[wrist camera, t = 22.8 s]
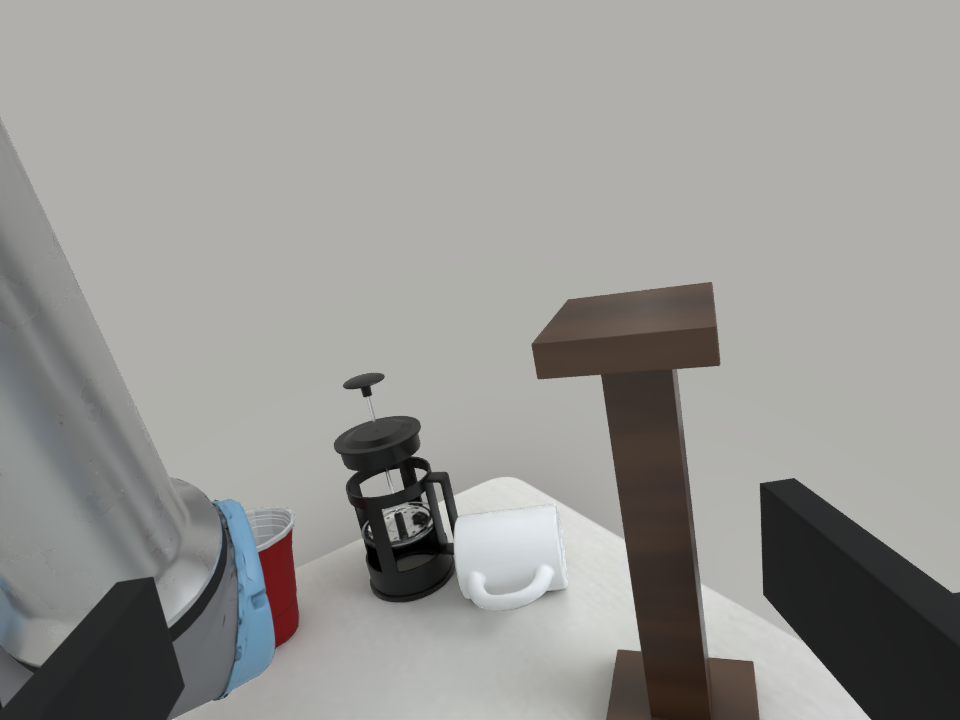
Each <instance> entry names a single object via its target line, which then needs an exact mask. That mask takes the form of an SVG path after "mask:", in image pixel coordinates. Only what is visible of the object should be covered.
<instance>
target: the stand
mask: <svg viewBox="0 0 960 720" xmlns="http://www.w3.org/2000/svg"><path fill="white" fill-rule="evenodd" d="M532 350H533V356H534V362H535V367H536V373H537V378H538V379H549V378H562V377H576V376H589V375H601V377H602V384H603V391H604V398H605V405H606V412H607V419H608V425H609V433H610V439H611V446H612V452H613V460H614V466H615V474H616V480H617V487H618V494H619V500H620V507H621V515H622V522H623V529H624V536H625V542H626V549H627V556H628V563H629V570H630V577H631V584H632V590H633V597H634V604H635V611H636V618H637V625H638V632H639V639H640V645H641V652H640V651H629V650H617V656H616V663H615V669H614V675H613V682H612V688H611V694H610V701H609V707H608V713H607V720H759V710H758V701H757V692H756V683H755V673H754V664H753V662H752V661H742V660H731V659H720V658H708V649H707V640H706V631H705V621H704V612H703V603H702V594H701V585H700V576H699V567H698V558H697V548H696V540H695V530H694V521H693V513H692V504H691V494H690V484H689V475H688V467H687V457H686V448H685V439H684V430H683V421H682V411H681V402H680V393H679V384H678V375H677V369H682V368H696V367H709V366H719V365H720V354H719V343H718V333H717V323H716V313H715V303H714V294H713V285H712V282H708V283H700V284H692V285H683V286H675V287H667V288H659V289H650V290H642V291H635V292H626V293H618V294H610V295H603V296H602V295H601V296H593V297H585V298H578V299H569V300H567V302H566V303H565V304H564V305H563V307H562V308H561V309H560V310H559V311H558V312H557V314H556V315H555V316H554V317H553V319H552V320H551V321H550V322H549V323H548V325H547V326H546V327H545V328H544V330H543V331H542V332H541V333H540V334H539V336H538V337H537V338H536V339H535V341H534V342H533V343H532Z"/></svg>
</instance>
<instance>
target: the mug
mask: <svg viewBox="0 0 960 720" xmlns="http://www.w3.org/2000/svg"><path fill="white" fill-rule="evenodd" d="M454 559H455V567H456V574H457V579H458V583H459V586H460V589H461V592H462V594H463V596H464V597H465V598H467V599H471V600H472V601H473V602H474V603H475V604H476V605H477V606H479V607H480V608H483V609H486V610H490V611H506V610H512V609H516V608H519V607H522V606H525V605H527V604H530V603H532V602H533V601H535V600H537V599H538V598H539V597H541V596H542V595H543V594H544V593H545V592H546V591H552V590H562V589H566V588H567V586H568V578H567V567H566V559H565V551H564V544H563V537H562V531H561V525H560V519H559V515H558V510H557V507H556V505H554V504H552V505H543V506H535V507H527V508H519V509H511V510H502V511H494V512H486V513H478V514H470V515H462V516H459V517H458V518H457V520H456V523H455V527H454Z"/></svg>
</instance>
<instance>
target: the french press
mask: <svg viewBox="0 0 960 720" xmlns="http://www.w3.org/2000/svg"><path fill="white" fill-rule="evenodd" d="M384 377H385V376H384V375H383V374H381V373H367V374H363V375H359V376H356V377H354V378H351V379H349V380H348V381H346V382H345V383H344V384H343V387H344V388H345V389H358V388H361V391H362V394H363V397H366V399H367V402H368V406H369V410H370V414H371V418H372V421H369V422H366V423H363V424H360V425H358V426H356V427H353V428H351V429H349V430H348V431H346V432H344V433H343V434H342V435H341V436H339V437H338V438H337V440H336V441H335V442H334V449H335V450H336V452H337V453H339V454H341V457H342V460H343V462H344V465H345V466H346V467H347V468H348V469H351V470H355V471H358V472H357V473H355V474H354V475H353V476H352V477H351V478H350V479H349V481H348V482H347V484H346V491H347V495H348V499H349V501H350V503H351V504H352V505H353V506H354V507H355V511H356V514H357V518H358V521H359V525H360V528H361V533H362V538H363V539H364V543H365V547H366V550H367V555H366V563H367V567H368V570H369V574H370V577H371V578H370V585H371V588H372V591H373V592H374V593H375V595H376V596H378V597H379V598H381V599H383V600H387V601H392V602H405V601H411V600H415V599H419V598H422V597H424V596H427V595H429V594H431V593H433V592H434V591H436V590H438V589H439V588H440V587H442V586H443V585H444V584H445V583H446V582H447V581H448V580H449V579H450V577H451V576H452V574H453V572H454V569H455V561H454V557H453V555H454V543H448V540H447V536H446V533H445V532H444V528H443V524H442V520H441V516H440V511H439V507H438V503H437V499H436V494H435V490H434V486H433V483H436V482H439V483H440V484H441V487H442V491H443V496H444V500H445V504H446V509H447V513H448V517H449V522H450V526H451V530H452V535H453V539H454V527H455V523H456V520H457V518H458V515H457V510H456V506H455V501H454V497H453V493H452V488H451V484H450V479H449V475H448V473H447V472H431V468H430V464H429V463H428V461H427V460H425V459H423V458H419V457H412V455H413V454H414V453H415V452H416V451H417V450H418V449H419V447H420V440H419V435H418V432H419V431H420V429H421V425H420V422H419V421H418V420H417V419H415V418H413V417H408V416H393V417H386V418H380V419H375V416H374V411H373V408H372V404H371V400H370V396H371V395H372V392H371V387H370V386H371V385H373V384H376V383H378V382H380V381H382V380H383V379H384ZM414 468H419V469H423V470H425V471H427V473H426V475H425V476H424V477H423V478H422V479H421V480H420V481H419V482H418V481H417V478H416V473H415V469H414ZM393 469H400V473H401V477H402V481H403V485H404V490H402V491H399V492H397V493H394V490H393V486H392V482H391V478H390V474H389V470H393ZM382 472H386V476H387V480H388V484H389V487H390V491H391V494H390V495H385V496H380V497H370V498H369V497H362V493H361V489H360V486H359V484H361V483H362V482H364V481H365V480H367V479H369V478H370V477H372V476H375V475H377V474H379V473H382ZM425 491H426V496H427V500H428V503H423V502H422V498H421V494H422V493H423V492H425ZM406 502H408V503H406ZM382 509H384V510H382ZM419 552H428V553H433V554H436V555H437V556H436V557H434V558H433V559H432V560H430V561H429V562H427V563H425V564H423V565H421V566H419V567H416V568H414V569H410V570H407V571H402V572H398V568H397V564H396V560H398V559H399V558H401V557H404V556H406V555H409V554H413V553H419Z"/></svg>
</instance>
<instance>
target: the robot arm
mask: <svg viewBox="0 0 960 720" xmlns="http://www.w3.org/2000/svg"><path fill="white" fill-rule="evenodd" d="M760 501H761V502H760V503H761V531H762V532H761V535H762V568H763V595H764V596H765V597H766V598H767V599H768V601H769V602H770V603H771V604H772V605H773V606H774V608H775V609H776V610H777V611H778V612H779V613H780V614H781V616H782V617H783V618H784V619H785V620H786V621H787V623H788V624H789V625H790V626H791V627H792V628H793V629H794V631H795V632H796V633H797V634H798V635H799V636H800V638H801V639H802V640H803V641H804V642H805V643H806V645H807V646H808V647H809V648H810V649H811V650H812V652H813V653H814V654H815V655H816V656H817V657H818V658H819V660H820V661H821V662H822V663H823V664H824V665H825V667H826V668H827V669H828V670H829V671H830V672H831V674H832V675H833V676H834V677H835V678H836V679H837V680H838V682H839V683H840V684H841V685H842V686H843V687H844V689H845V690H846V691H847V692H848V693H849V694H850V696H851V697H852V698H853V699H854V700H855V701H856V702H857V704H858V705H859V706H860V707H861V708H862V709H863V711H864V712H865V713H866V714H867V715H868V716H869V718H870V719H871V720H960V592H959V593H951V592H950V591H949V590H947V589H946V588H945V587H943V586H942V585H941V584H939V583H938V582H936V581H935V580H934V579H932V578H931V577H929V576H928V575H927V574H925V573H924V572H923V571H921V570H920V569H919V568H917V567H916V566H914V565H913V564H912V563H910V562H909V561H908V560H906V559H905V558H903V557H902V556H901V555H899V554H898V553H897V552H895V551H894V550H892V549H891V548H890V547H888V546H887V545H886V544H884V543H883V542H881V541H880V540H878V539H877V538H876V537H874V536H873V535H872V534H870V533H869V532H868V531H866V530H865V529H863V528H862V527H861V526H859V525H858V524H857V523H855V522H854V521H852V520H851V519H850V518H848V517H847V516H846V515H844V514H843V513H841V512H840V511H839V510H837V509H836V508H835V507H833V506H832V505H830V504H829V503H828V502H826V501H825V500H823V499H822V498H821V497H819V496H818V495H817V494H815V493H814V492H813V491H811V490H810V489H808V488H807V487H805V486H804V485H803V484H801V483H800V482H799V481H797V480H796V479H795V478H792V479H786V480H779V481H773V482H766V483H760ZM265 592H266V587H265V583H264V575H263V571H262V567H261V563H260V559H259V555H258V551H257V547H256V544H255V540H254V537H253V533H252V530H251V527H250V524H249V521H248V518H247V516H246V513H245V511H244V509H243V507H242V506H241V504H240V503H239V502H237V501H234V500H231V499H230V500H225V501H218V500H215V501H213V502H211V501H210V500H209V499H208V497H207V496H206V495H205V494H204V493H203V492H202V491H201V490H199V489H198V488H197V487H195V486H193V485H191V484H189V483H187V482H185V481H182V480H180V479H177V478H172V477H169V476H168V474H167V472H166V470H165V467H164V465H163V463H162V461H161V459H160V457H159V455H158V453H157V450H156V448H155V446H154V444H153V442H152V440H151V438H150V435H149V433H148V431H147V429H146V427H145V425H144V423H143V421H142V418H141V417H140V414H139V412H138V410H137V408H136V406H135V403H134V401H133V399H132V397H131V395H130V393H129V391H128V389H127V386H126V384H125V382H124V380H123V378H122V376H121V374H120V372H119V369H118V367H117V365H116V363H115V361H114V359H113V357H112V354H111V352H110V350H109V348H108V346H107V344H106V342H105V340H104V337H103V335H102V333H101V331H100V329H99V327H98V325H97V323H96V320H95V318H94V316H93V314H92V312H91V310H90V308H89V305H88V303H87V301H86V299H85V297H84V295H83V293H82V291H81V289H80V286H79V284H78V282H77V280H76V278H75V276H74V273H73V271H72V269H71V267H70V265H69V263H68V261H67V259H66V257H65V254H64V252H63V250H62V248H61V246H60V244H59V241H58V239H57V238H56V235H55V233H54V231H53V229H52V227H51V225H50V222H49V221H48V218H47V216H46V214H45V212H44V210H43V207H42V205H41V204H40V201H39V199H38V197H37V195H36V193H35V190H34V188H33V186H32V184H31V182H30V180H29V178H28V176H27V173H26V171H25V169H24V167H23V165H22V163H21V161H20V159H19V156H18V154H17V152H16V150H15V148H14V146H13V143H12V141H11V140H10V137H9V135H8V133H7V131H6V129H5V126H4V124H3V122H2V120H1V118H0V720H171V719H173V718H175V717H177V716H179V715H181V714H184V713H186V712H188V711H190V710H192V709H194V708H196V707H198V706H200V705H202V704H204V703H206V702H209V701H211V700H214V701H216V700H220V699H223V698H225V697H226V696H228V694H229V693H230V692H231V691H232V690H233V689H235V688H236V687H238V686H240V685H242V684H244V683H246V682H247V681H249V680H251V679H253V678H255V677H257V676H259V675H260V674H261V673H262V672H263V671H265V670H266V668H267V667H268V666H269V664H270V663H271V661H272V658H273V655H274V651H275V635H274V627H273V620H272V614H271V609H270V604H269V600H268V597H267V595H266V593H265Z"/></svg>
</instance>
